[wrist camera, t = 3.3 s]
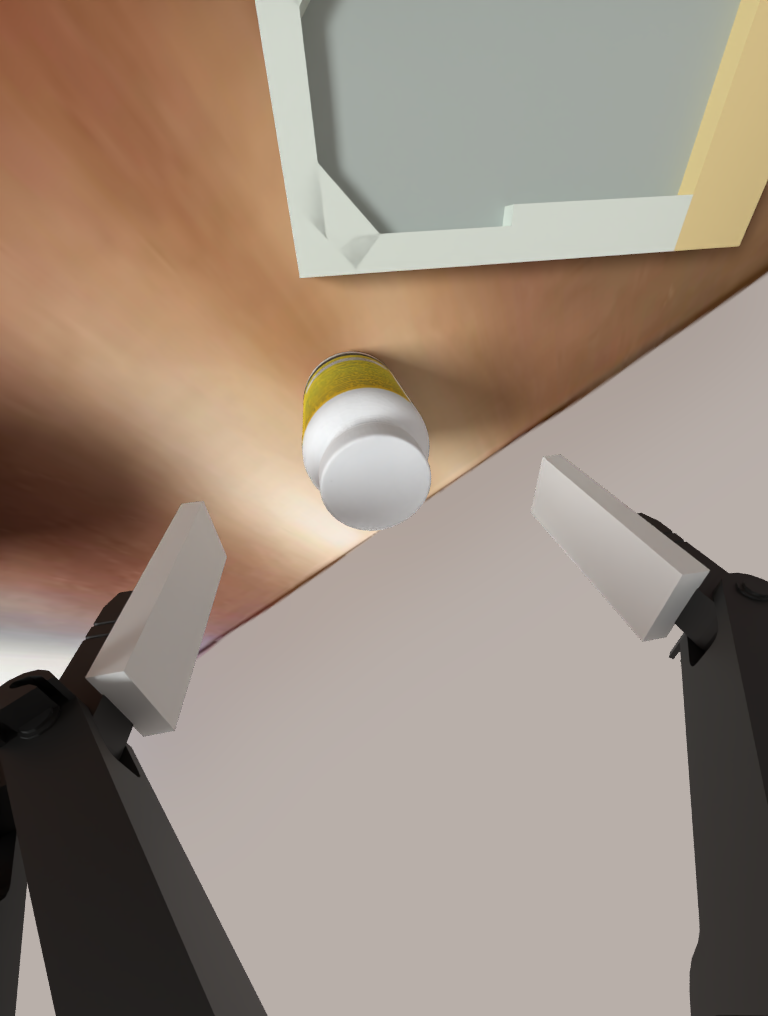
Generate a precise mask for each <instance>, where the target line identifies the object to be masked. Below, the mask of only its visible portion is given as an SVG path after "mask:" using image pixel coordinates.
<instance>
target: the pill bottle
mask: <svg viewBox="0 0 768 1016" xmlns="http://www.w3.org/2000/svg"><path fill="white" fill-rule="evenodd" d="M302 453H303V461H304V465H305V468H306V471H307V473H308V475H309V477H310V479H311V481H312V482H313V484H314V485H315V486H316V487H317V489H318V490H319V491H320V493H321V498H322V500H323V503H324V505H325V507H326V508H327V510H328V511H329V512H330V513H331V515H332V516H333V517H335V518H336V519H337V520H338V521H340V522H341V523H343V524H345V525H347V526H350V527H352V528H356V529H360V530H369V531H374V530H382V529H387V528H390V527H393V526H396V525H398V524H400V523H402V522H404V521H405V520H407V519H408V518H410V517H411V516H412V515H414V514H415V513H416V512H417V510H418V509H419V508H420V507H421V506H422V504H423V503H424V501H425V499H426V498H427V495H428V493H429V489H430V485H431V471H430V466H429V463H428V456H429V436H428V431H427V428H426V425H425V423H424V421H423V419H422V417H421V415H420V413H419V412H418V410H417V409H416V407H415V406H414V404H413V403H412V402H411V400H410V399H409V397H408V396H407V394H406V393H405V391H404V390H403V388H402V387H401V386H400V384H399V383H398V381H397V380H396V378H395V377H394V375H393V374H392V373H391V371H390V370H389V369H388V368H387V367H386V366H385V365H384V364H383V363H382V362H381V361H379V360H378V359H377V358H375V357H373V356H371V355H368V354H365V353H362V352H342V353H338V354H335V355H333V356H331V357H329V358H327V359H325V360H324V361H323V362H321V363H320V364H319V365H318V366H317V367H316V368H315V369H314V371H313V372H312V374H311V375H310V377H309V379H308V382H307V384H306V387H305V392H304V402H303V435H302Z"/></svg>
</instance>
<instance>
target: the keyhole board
mask: <svg viewBox="0 0 768 1016" xmlns="http://www.w3.org/2000/svg"><path fill="white" fill-rule="evenodd" d="M255 3H256V10H257V16H258V22H259V28H260V34H261V41H262V47H263V53H264V59H265V65H266V71H267V78H268V84H269V90H270V96H271V102H272V108H273V115H274V121H275V127H276V133H277V139H278V146H279V152H280V158H281V164H282V170H283V176H284V183H285V189H286V195H287V201H288V207H289V213H290V220H291V226H292V232H293V238H294V244H295V251H296V257H297V263H298V269H299V275H300V278H307V277H321V276H335V275H349V274H363V273H376V272H390V271H404V270H418V269H432V268H446V267H459V266H473V265H487V264H501V263H515V262H528V261H542V260H556V259H570V258H584V257H598V256H611V255H625V254H639V253H653V252H667V251H681V250H694V249H708V248H722V247H736V246H739V245H740V243H741V241H742V238H743V236H744V234H745V232H746V229H747V227H748V225H749V222H750V220H751V218H752V215H753V213H754V211H755V208H756V206H757V204H758V201H759V199H760V197H761V194H762V192H763V190H764V187H765V185H766V183H767V180H768V0H255Z"/></svg>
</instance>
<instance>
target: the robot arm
mask: <svg viewBox="0 0 768 1016" xmlns="http://www.w3.org/2000/svg"><path fill="white" fill-rule="evenodd" d="M531 514H532V515H533V516H534V517H535V518H536V520H537V521H538V522H539V523H540V524H541V525H542V526H543V528H544V529H545V530H546V531H547V532H548V533H549V535H550V536H551V537H552V538H553V539H554V540H555V541H556V543H557V544H558V545H559V546H560V547H561V548H562V549H563V551H564V552H565V553H566V554H567V555H568V556H569V557H570V559H571V560H572V561H573V562H574V563H575V565H577V567H578V568H579V569H580V570H581V571H582V573H583V574H584V575H585V576H586V577H587V578H588V579H589V581H590V582H591V583H592V584H593V585H594V586H595V588H596V589H597V590H598V591H599V592H600V593H601V594H602V596H603V597H604V598H605V599H606V600H607V601H608V603H609V604H610V605H611V606H612V607H613V608H614V610H615V611H616V612H617V613H618V614H619V615H620V616H621V618H622V619H623V620H624V621H625V622H626V623H627V625H628V626H629V627H630V628H631V629H632V630H633V631H634V633H635V634H636V635H637V636H638V637H639V638H640V640H642V641H649V640H653V639H659V638H664V637H667V635H668V634H669V632H670V631H671V629H672V627H673V626H674V624H676V625H677V626H678V627H679V628H680V629H681V630H682V631H683V632H684V633H683V635H682V636H681V638H680V639H679V640H678V642H677V643H676V645H675V646H674V648H673V649H672V651H671V652H670V656H669V657H670V658H672V659H674V658H675V656H676V655H677V654H678V652H681V666H682V679H683V680H682V681H683V694H684V709H685V723H686V737H687V751H688V765H689V780H690V794H691V807H692V823H693V836H694V850H695V863H696V864H695V865H696V879H697V891H698V892H697V893H698V908H699V922H700V933H699V940H698V944H697V947H696V949H695V952H694V955H693V957H692V961H691V968H690V1005H691V1006H690V1007H691V1016H768V582H767V581H765V580H763V579H760V578H758V577H755V576H752V575H748V574H742V573H728V572H726V571H725V570H724V569H722V568H721V567H719V566H718V565H717V564H716V563H714V562H713V561H712V560H710V559H709V558H708V557H706V556H705V555H703V554H702V553H701V552H700V551H698V550H697V549H695V548H694V547H693V546H691V545H690V544H689V543H687V542H684V541H683V539H682V538H681V537H679V536H678V535H677V534H675V533H672V531H671V530H670V529H669V528H667V527H666V526H665V525H663V524H662V523H661V522H659V521H658V520H656V519H653V518H651V517H649V516H647V515H645V514H643V513H636V512H634V511H633V510H632V509H630V508H629V507H628V506H627V505H625V504H624V503H623V502H621V501H620V500H619V499H617V498H616V497H615V496H614V495H612V494H611V493H610V492H608V491H607V490H606V489H605V488H603V487H602V486H601V485H600V484H598V483H597V482H595V481H594V480H593V479H592V478H590V477H589V476H588V475H587V474H585V473H584V472H583V471H581V470H580V469H579V468H578V467H576V466H575V465H574V464H572V463H571V462H570V461H568V460H567V459H566V458H565V457H563V456H562V455H552V456H545V457H543V458H542V463H541V468H540V472H539V477H538V481H537V485H536V490H535V494H534V499H533V503H532V507H531ZM226 558H227V556H226V553H225V551H224V549H223V546H222V544H221V542H220V539H219V537H218V534H217V532H216V530H215V527H214V525H213V523H212V520H211V518H210V515H209V513H208V511H207V508H206V506H205V503H204V501H199V502H191V503H183V504H181V506H180V507H179V509H178V511H177V513H176V515H175V516H174V518H173V520H172V522H171V524H170V525H169V527H168V529H167V531H166V533H165V534H164V536H163V538H162V540H161V542H160V543H159V545H158V547H157V549H156V551H155V552H154V554H153V556H152V558H151V560H150V561H149V563H148V565H147V567H146V569H145V570H144V572H143V574H142V576H141V578H140V579H139V581H138V583H137V585H136V587H135V589H134V590H133V591H128V592H121V593H119V594H118V595H117V596H115V597H114V598H113V599H112V600H111V601H110V602H109V603H108V604H107V605H106V606H105V607H104V608H103V609H102V611H101V613H100V614H99V616H98V618H97V619H96V621H95V622H94V627H91V629H90V631H89V632H88V634H87V635H86V640H84V641H83V642H82V644H81V645H80V647H79V649H78V650H77V652H76V653H75V655H74V657H73V658H72V660H71V662H70V663H69V665H68V666H67V668H66V670H65V671H64V673H63V675H62V676H61V678H60V679H59V680H58V679H57V678H56V677H55V676H54V675H53V674H52V673H51V672H49V671H46V670H35V671H31V672H27V673H23V674H21V675H19V676H17V677H15V678H13V679H11V680H9V681H7V682H6V683H4V684H3V685H2V686H0V1016H15V1010H16V999H17V987H18V977H19V976H18V975H19V966H20V954H21V943H22V933H23V921H24V911H25V899H26V889H27V883H28V888H29V892H30V897H31V901H32V906H33V911H34V916H35V920H36V925H37V930H38V934H39V939H40V944H41V948H42V953H43V958H44V962H45V967H46V972H47V976H48V981H49V986H50V990H51V995H52V1000H53V1004H54V1009H55V1013H56V1016H267V1014H266V1012H265V1010H264V1008H263V1006H262V1004H261V1002H260V1000H259V998H258V996H257V994H256V992H255V990H254V988H253V986H252V984H251V982H250V980H249V978H248V976H247V974H246V972H245V970H244V968H243V966H242V964H241V962H240V960H239V958H238V957H237V954H236V953H235V950H234V949H233V947H232V945H231V943H230V941H229V939H228V937H227V935H226V933H225V931H224V929H223V927H222V925H221V923H220V921H219V919H218V917H217V915H216V913H215V911H214V909H213V907H212V905H211V903H210V901H209V899H208V897H207V895H206V893H205V891H204V890H203V887H202V885H201V883H200V882H199V879H198V878H197V875H196V874H195V872H194V870H193V868H192V866H191V864H190V862H189V860H188V858H187V856H186V854H185V852H184V850H183V848H182V846H181V844H180V842H179V840H178V838H177V836H176V834H175V832H174V830H173V828H172V826H171V824H170V822H169V820H168V819H167V816H166V814H165V812H164V810H163V808H162V806H161V804H160V803H159V801H158V799H157V797H156V795H155V793H154V791H153V789H152V787H151V785H150V783H149V781H148V779H147V777H146V775H145V773H144V771H143V769H142V767H141V765H140V763H139V761H138V759H137V757H136V755H135V753H134V751H133V749H132V748H131V747H130V746H129V745H128V744H127V740H128V737H129V735H130V732H131V730H132V727H135V729H136V730H137V731H138V732H139V733H140V734H141V735H142V736H149V735H154V734H160V733H165V732H170V731H175V729H176V725H177V722H178V718H179V715H180V712H181V708H182V705H183V701H184V698H185V695H186V692H187V688H188V685H189V682H190V678H191V675H192V672H193V668H194V665H195V662H196V658H197V655H198V652H199V648H200V645H201V642H202V638H203V635H204V632H205V628H206V625H207V622H208V618H209V615H210V612H211V608H212V605H213V602H214V598H215V595H216V592H217V588H218V585H219V582H220V578H221V575H222V572H223V568H224V565H225V561H226Z"/></svg>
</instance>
